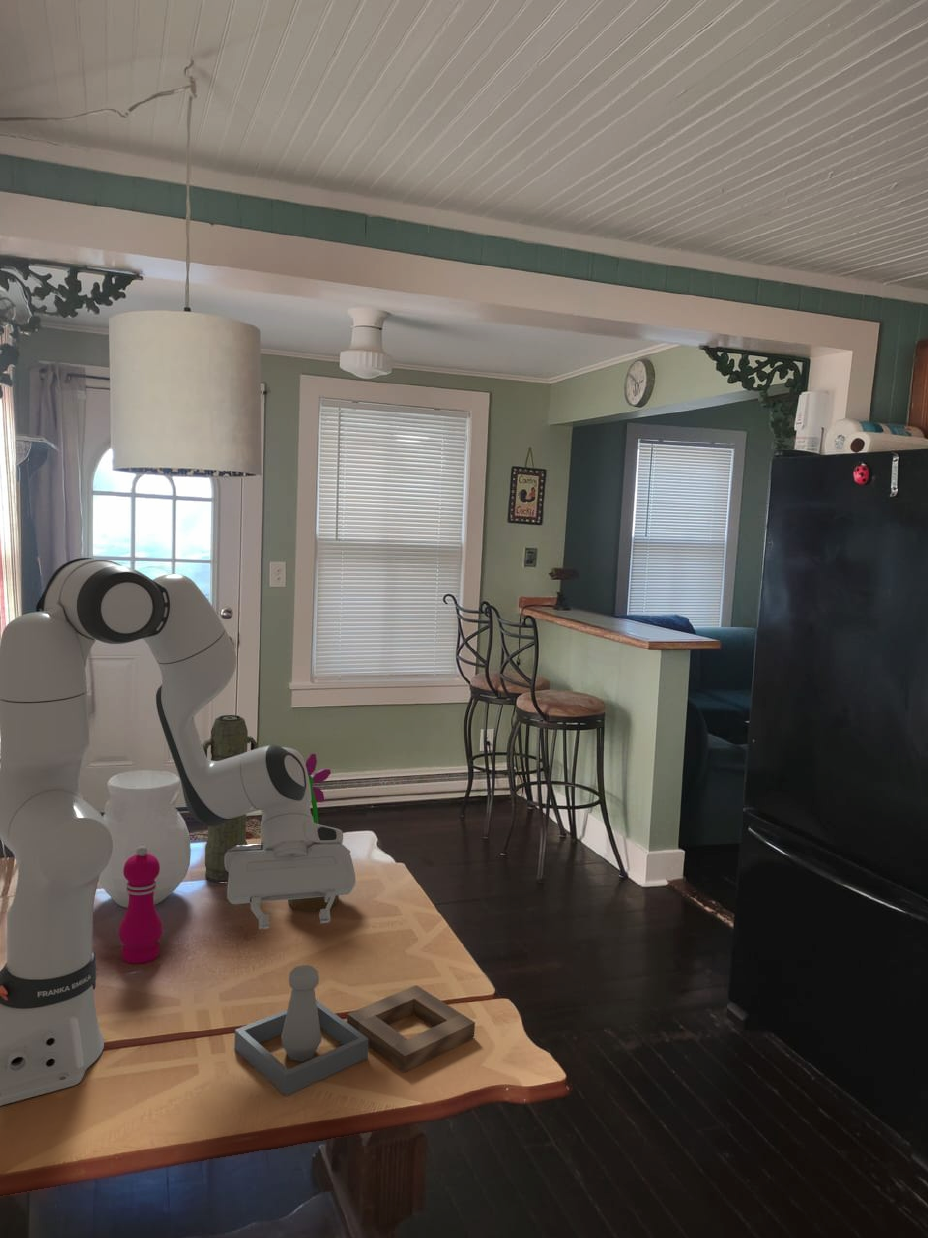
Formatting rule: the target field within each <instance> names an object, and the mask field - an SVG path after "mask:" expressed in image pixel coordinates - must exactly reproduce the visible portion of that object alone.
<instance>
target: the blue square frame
mask: <svg viewBox="0 0 928 1238" xmlns="http://www.w3.org/2000/svg"><path fill="white" fill-rule="evenodd" d="M316 1003H317V1010H318V1018H319V1025H320V1030H323V1031H324V1032H325V1033H326V1034H328V1035H329V1036H331V1038H333V1039H334V1040H335V1041H336V1042H338V1043H339V1044H341V1046H338V1047H336V1048H334V1049H332V1050H329V1051H327V1052H325V1053H322V1054H320V1055H318V1056H316V1057H313V1058H311V1059H308V1060H306V1061H303V1062H301V1063H300V1064H298V1065H296V1066H294V1067H293V1066H292V1067H291V1068H288V1067H286V1066H285V1065H284V1064H283V1063H282V1062H281V1061H280V1060H279V1059H278V1058H276V1057H275V1056H274V1055H273V1054H272V1053H271V1052H270V1051H269V1050H267V1049H266V1048H265V1047H264V1046H263V1045H262V1044H261V1043H263V1042H266V1041H268V1040H272V1039H273V1038H275V1037H278V1036H280V1035H281V1036H282V1032H283V1028H284V1023H285V1019H286V1014H287V1010H288V1008H287V1009H285V1010H282V1011H279V1012H277V1013H274V1014H271V1015H269V1016H266V1017H263V1018H262V1019H259V1020H257V1021H253V1022H251V1023H249V1024H246V1025H243V1026H241V1027H239V1028H236V1029H234V1045H233V1046H234V1047H233V1048H234V1050H235V1052H237V1053H238V1054H239V1055H240V1056H241V1057H243V1058H244V1060H246V1061H247V1062H248V1063H249V1064H250V1065H251V1066H252V1067H253V1068H255V1070H257V1071H258V1072H259V1073H260V1074H261V1075H262V1076H263V1077H264V1078H265V1079H266V1080H267V1081H268V1082H270V1084H271V1085H273V1086H274V1087H275V1088H276V1089H277V1090H278V1091H279V1092H280V1093H281V1094H282V1095H283V1096H285V1097H288V1096H290V1095H291V1094H294V1093H296V1092H298V1091H300V1090H302V1089H304V1088H306V1087H308V1086H310V1085H313V1084H315V1083H317V1082H319V1081H321V1080H324V1079H326V1078H328V1077H330V1076H332V1075H335V1074H336V1073H339V1072H340V1071H343V1070H346V1069H347V1068H349V1067H351V1066H354V1065H356V1064H358V1063H360V1062H362V1061H365V1060H366V1059H368V1058H369V1045H368V1041H369V1039H368V1038H367V1037H365V1036H364V1035H363V1034H361V1033H360V1032H359V1031H357V1030H356V1029H355V1028H353V1027H352V1026H351V1025H349V1024H348V1023H347V1021H346V1020H344V1019H343V1018H341V1017H340V1016H338V1015H337V1014H336V1013H335V1012H333V1011H332V1010H331V1009H329V1008H328V1007H327V1006H325V1005H324V1004H323V1003H321V1002H320V1001H318V1000H317V999H316Z"/></svg>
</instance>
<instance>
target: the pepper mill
mask: <svg viewBox="0 0 928 1238" xmlns="http://www.w3.org/2000/svg"><path fill="white" fill-rule="evenodd" d="M159 871H160V865H159V862H158V860H157V858H156V857H154V856H153V855H151V854H147V848H146V847H145V846H140V847H138V849H137V854H136V855H133V856H131V857H130V858H129V859H128V860H127V861H126V863H125V865H124V869H123V874H124V877H125V878H126V879H127V880H128V882H127V883H126V886H127V888H126V891H127V892H128V893H129V905H128V908H126V911H125V914H124V916H123V918H122V920H121V922H120V926H119V931H118V939H119V941H120V942H121V943H122V944H123V945H122V946H121V956H120V957H121V959H122V961H124V962H125V963H128V964H131V965H133V964H135V965H137V964H138V965H139V964H144V963H149V962H151V961H153V960H155V959H156V958H158V956H159V954H160V944H159V942H158V941H159V940H160V938H161V937H162V935H163V924H162V920H161V917H160V916H159V914H158V911H157V909H156V908H155V905H154V899H153V895H154V891H155V890H156V883H157V881H156V880H155V878H156V877H157V876H158V874H159Z"/></svg>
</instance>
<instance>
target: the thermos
mask: <svg viewBox="0 0 928 1238" xmlns="http://www.w3.org/2000/svg"><path fill="white" fill-rule="evenodd" d="M246 724H247V722H246V720H245V719H244V717H242V716H240V715H234V714H225V715H220V716H218V717H216V718H215V719H214V721H213V725H212V726H211V727H212V728H211V730H210V738H209V739H208V740H204V741H203V743H202V746H203V749H204V752H205V755H206V757H207V758H208V749H209V747H210V756H211V758H210V760H212V761H221V760H224V759H227V758H230V757H233V756H237V755H240V754H243V753H245V752H248V744H250V751H251V750H254V749H257V748H258V743H257V741H256V740H255V738H254V737H253V736H252V735H251V736H249V731H248V727H247V725H246ZM207 827H208V828H207V841H206V844H205V846H204V867H205V873H204V876H205V879H206V880H207V879H208V881H209V882H211V881H213V882H212V883H215V882H218V883H217V884H220V883H219V882H228V877H229V872H228V871H227V870H226V869H225V866H224V856H225V854H226V852H227V851H228V850H229V849H232V848H233V847H234V846H236V845H242V846H243V845H248V843H247V839H246V836H247V835H246V832H247V830H246V829H247V828H246V827H247V814H245V815H242V816H239V817H235V818H234V819H232V820H230V821H227V822H225V823H222V824H220V825H217V826H214V827H212V826H208V825H207ZM231 852H234V851H231Z"/></svg>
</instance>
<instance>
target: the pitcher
mask: <svg viewBox="0 0 928 1238" xmlns="http://www.w3.org/2000/svg"><path fill="white" fill-rule="evenodd" d="M180 783H181V780H180V777H179V775H176V774H175V773H173V772H170V771H166V770H165V771H163V770H154V769H141V770H139V769H138V770H137V769H136V770H129V771H128V770H127V771H123V772H120V773H116V774H115V775H113V776H111V777H110V778H109V780H108V781H107V783H106V785H107V790H108V791H109V794H110V797H109V799H108V800H107V801H106V802H105V806H104V808H103V809H104V814H103V815H102V817H103V819H104V821H105V822H106V824H107V826H108V829H109V831H110V834H111V836H112V841H113V850H112V855H111V858H110V860H109V862H108V864H107V866H106V867H105V869H104V870H103V871H102V872H101V873H100V877H99V881H98V884H99V885H100V886H101V887H102V889H104V891H105V892H106V893H107V895H108V896H110V897H111V898H112V900H113V901H114V902H115V903H116V904H117V905H118V906H120V907H122V908H126V909H127V908H128V905H129V893H128V892H127V891H126V888H127V886H126V883H127V882H128V880H127V879H126V878H125V877H124V874H123V869H124V865H125V863H126V861H127V860H128V859H129V858H130V857H131V856H133V855H136V854H137V849H138V847H140V846H145V847H146V848H147V854H151V855H153V856H154V857H156V858H157V860H158V862H159V865H160V871H159V874H158V876H157V877H156V878H155V880H156V881H157V883H156V890H155V891H154V895H153V899H154V906H155V905H158V904H160V903H161V902H163V900H165V899H166V898H168V897H169V896H170V895H171V894H172V893H173V892H174V891H176V889H177V888H178V887H179V886H180V885H181V883H182V882H184V879H185V877H186V876H187V873H188V872H189V868H190V865H191V855H192V853H191V851H192V849H191V840H190V833H189V830H188V826H187V824H186V821H185V819H184V818H183V816H182V815H181V813H180V812H179V811H178V809H177V808H175V805H176V803H177V800H178V798H179V791H180V789H179V788H180Z"/></svg>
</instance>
